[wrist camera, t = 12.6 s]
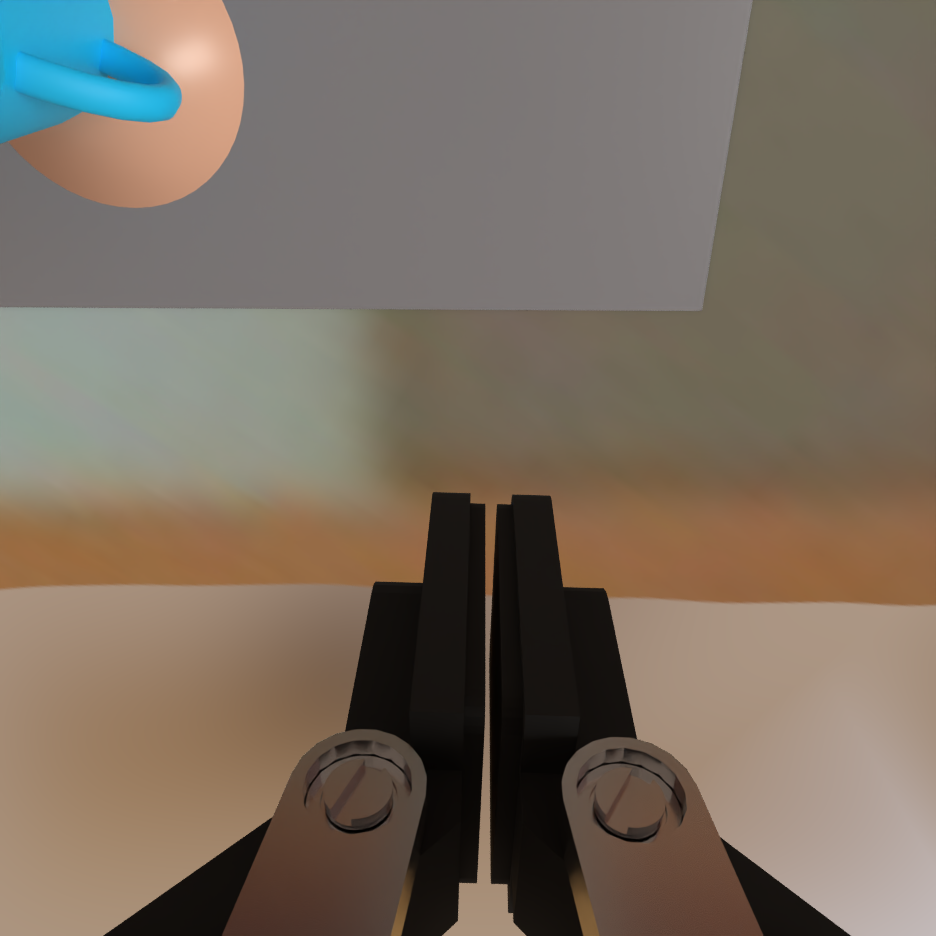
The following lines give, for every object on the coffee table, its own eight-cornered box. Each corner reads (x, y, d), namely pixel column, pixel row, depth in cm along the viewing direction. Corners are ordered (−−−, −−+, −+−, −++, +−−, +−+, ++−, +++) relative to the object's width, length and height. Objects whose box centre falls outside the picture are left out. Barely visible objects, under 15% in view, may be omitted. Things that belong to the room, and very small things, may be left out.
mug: (-107, 79, 31) (-276, 107, 24) (-109, -165, 27) (-312, -215, 20) (192, 192, 33) (115, 247, 26) (232, -19, 29) (153, -19, 22)
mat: (-241, -276, 26) (-244, -277, 26) (797, -284, 25) (798, -285, 25) (-35, 306, 36) (-36, 307, 36) (701, 309, 36) (701, 310, 36)
